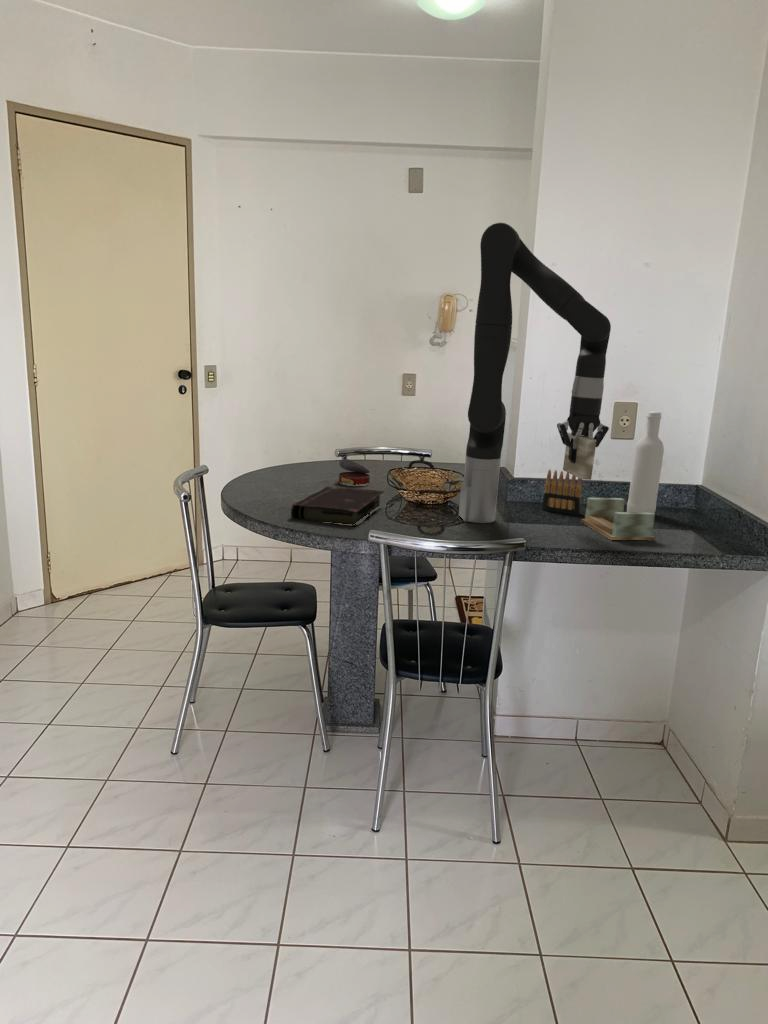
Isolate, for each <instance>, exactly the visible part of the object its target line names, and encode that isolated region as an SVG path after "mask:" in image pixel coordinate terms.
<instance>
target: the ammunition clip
mask: <svg viewBox="0 0 768 1024" xmlns="http://www.w3.org/2000/svg"><path fill="white" fill-rule="evenodd" d="M563 471H564V470H561V471H560V474H559V476H558V471H557V469H555V471H554V472H553V475H552V471H551V469H550V468H549V470H548V471H547V475H546V481H545V485H544V493H543V499H542V505H541V510H542V511H549V512H554V513H563V514H568V513H570V514H569V515H575V514H578V515H577V516H579V515H580V514H581V501H582V499H581V498H582V490H583V483H582V482H583V479H580V478H578V477H576V476H574V475H572V476H571V481H570V473H568V472H566V474H565V478H564V472H563ZM576 478H577V479H576ZM576 480H577V484H576Z"/></svg>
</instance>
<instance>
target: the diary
mask: <svg viewBox="0 0 768 1024" xmlns="http://www.w3.org/2000/svg"><path fill="white" fill-rule="evenodd" d="M384 493H385V491H384V490H375V489H368V488H359V487H344V486H342V487H340V486H338V487H337V486H326V487H324V488H322V489H321V490H319V491H317V492H314V493H313V494H310V495H308V496H307V497H305V498H304V499H302V500H299V501H297V502H295V503H293V504H292V505H291V508H290V515H291V520H295V519H296V517H297V518H298V517H299V520H300V519H301V520H303V519H304V521H310V520H314V521H313V522H318V521H323V522H332V523H342V524H352V525H353V524H355V523H356V522H357V521H359V520H360V519H362V518H363V517H364V516H366V515H367V514H368V515H370V512H371V511H372V510H374V509H375V508H376V507H378V506H380V503H381V502H380V501H381V500H380V499H381V495H382V494H384ZM353 526H355V527H357V526H356V524H355V525H353Z"/></svg>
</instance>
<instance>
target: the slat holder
mask: <svg viewBox="0 0 768 1024" xmlns="http://www.w3.org/2000/svg"><path fill="white" fill-rule="evenodd" d="M625 503H626V501H625V499H624V498H622V497H587V501H586V507H585V515H584V518H581V521H580V523H581V522H582V524H583V523H584V524H583V525H585V526H586V525H587V526H586V527H588V528H590V529H591V528H592V529H591V530H593V531H594V530H595V531H594V532H596V531H597V532H596V533H598V532H599V533H600V534H599V533H598V534H599V535H601V534H602V535H604V536H605V537H604V536H603V537H604V538H606V537H607V538H608V539H607V538H606V539H607V540H609V539H610V540H609V541H611V540H655V541H656V537H655V536H654V535H653V530H654V523H655V516H656V514H653V513H651V512H627V511H624V509H625ZM602 535H601V536H602Z"/></svg>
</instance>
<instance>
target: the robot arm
mask: <svg viewBox="0 0 768 1024" xmlns="http://www.w3.org/2000/svg"><path fill="white" fill-rule="evenodd" d="M479 246H480V286H479V287H480V288H479V293H478V300H477V308H476V314H475V315H476V316H475V325H474V326H475V328H474V342H473V343H474V344H473V345H474V346H473V382H472V387H471V388H472V389H471V393H470V399H469V400H470V401H469V404H468V405H469V406H468V408H467V419H468V421H469V433H468V439H467V440H468V441H467V443H466V448H465V449H466V451H465V462H464V474H463V475H464V476H463V481H462V482H461V483H460V496H459V505H458V506H459V508H458V517H459V516H460V517H461V518H462V519H463V520H462V519H461V518H460V517H459V518H460V519H461V520H462V521H463V522H466V523H467V522H469V523H475V524H476V523H477V524H490V523H494V522H495V521H496V514H497V513H496V511H497V501H498V492H499V491H498V490H499V479H500V471H501V459H502V451H503V447H504V446H503V445H504V437H505V436H504V435H505V428H506V416H507V412H506V411H507V410H506V406H505V404H504V402H503V401H502V400H503V378H504V374H505V373H504V372H505V368H506V365H507V360H508V357H509V353H510V346H511V341H512V331H513V329H512V328H513V304H512V293H511V278H512V274H514V275H515V276H517V277H518V278H519V279H521V281H523V282H524V284H526V285H527V287H529V289H531V290H532V291H533V292H534V294H535V295H536V296H538V298H539V299H540V300H541V301H543V302H544V303H545V304H546V306H548V307H549V308H550V309H551V310H552V311H553V312H554V313H555V314H557V316H559V318H562V319H563V320H565V321H566V322H567V323H568V324H569V325H570V326H571V327H572V328H573V330H575V331H576V332H577V333H578V334H579V335H580V342H579V343H580V345H579V353H578V357H577V361H576V364H575V365H576V366H575V374H574V380H573V382H572V383H573V384H572V389H571V397H570V398H571V399H570V405H569V416H568V417H567V418H566V421H563V422H560V423H559V422H558V423H557V424H556V427H557V429H558V433H559V436H560V438H561V442H562V444H563V445H564V446H565V447H566V446H568V447H569V455H568V459H569V460H570V462H571V463H575V462H576V454H577V449H576V448H577V446H578V441H579V439H580V437H581V435H583V436H587V437H589V438H592V439H595V440H596V448H598V447H599V446H600V444H601V442H602V441H603V440H604V438H605V436H606V435H607V434H608V432H609V430H610V427H609V426H607V425H604V424H603V423H601V419H600V416H601V410H602V401H603V395H604V386H605V383H604V382H605V381H604V380H605V372H606V365H607V364H606V363H607V350H608V346H609V341H610V335H611V329H612V326H611V325H612V324H611V322H610V320H609V318H608V317H607V316H606V315H605V314H604V313H602V312H601V311H600V310H598V309H597V308H596V307H595V306H593V305H592V304H591V303H589V301H587V300H586V299H585V298H584V296H583V295H582V294H581V293H580V292H579V291H578V290H576V289H575V287H573V286H572V285H571V284H570V283H568V282H567V281H566V280H565V279H564V278H563V277H562V276H560V275H559V274H557V273H556V272H554V270H552V269H551V268H549V267H548V266H547V265H545V264H544V263H543V262H542V261H541V260H540V259H539V258H538V257H537V256H535V255H534V254H533V252H532V251H531V250H530V249H529V247H528V246H527V245H526V243H525V242H523V240H522V239H521V238H520V235H519V234H518V232H517V231H516V229H515V228H514V227H512V226H511V225H510V224H508V223H505V222H503V221H502V222H500V221H499V222H498V221H497V222H494V223H491V224H490V225H489V226H488V227H486V229H485V230H484V231H483V234H482V236H481V238H480V245H479ZM569 429H570V431H571V432H570V433H571V435H570V438H571V439H569V436H568V430H569ZM595 431H596V433H595V435H594V432H595Z"/></svg>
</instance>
